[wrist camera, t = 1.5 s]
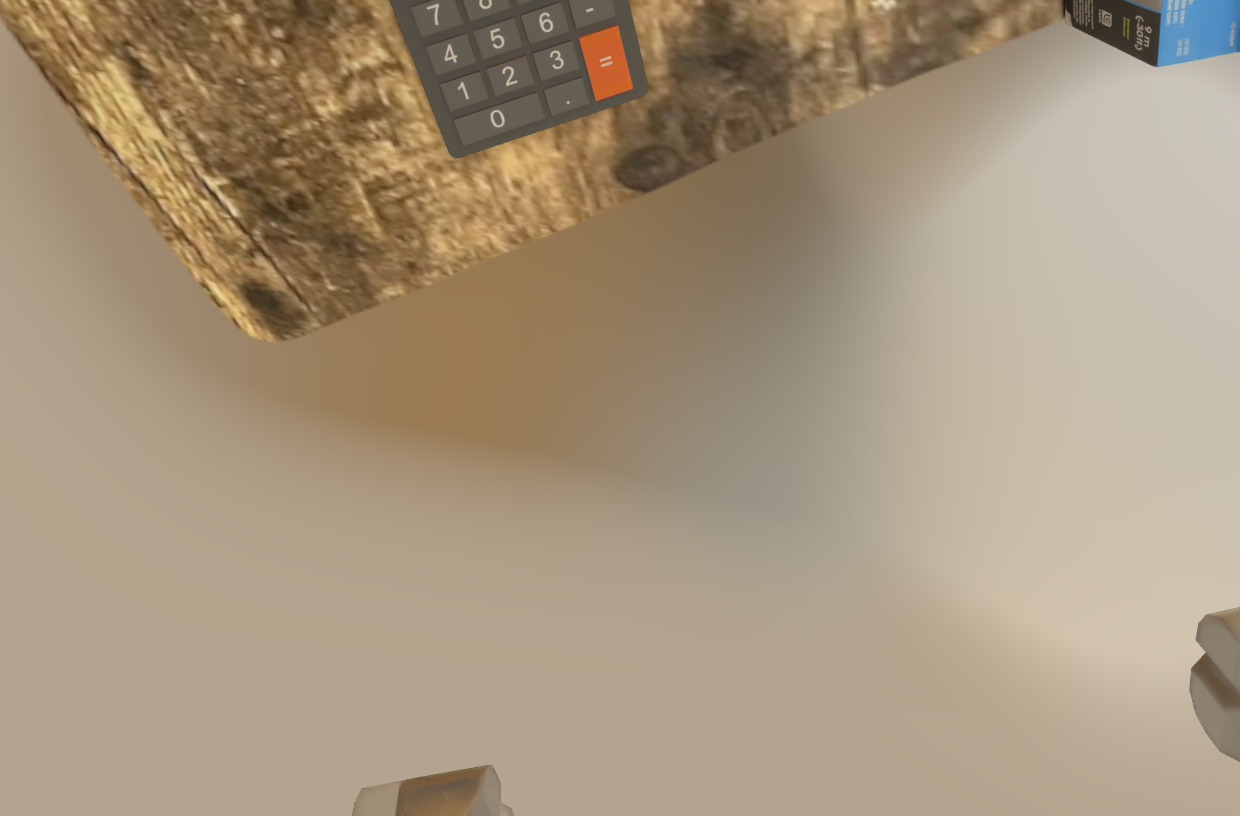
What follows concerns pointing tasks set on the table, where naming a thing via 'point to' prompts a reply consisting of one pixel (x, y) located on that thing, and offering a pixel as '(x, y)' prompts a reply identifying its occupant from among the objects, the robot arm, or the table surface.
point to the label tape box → (1160, 27)
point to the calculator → (519, 64)
